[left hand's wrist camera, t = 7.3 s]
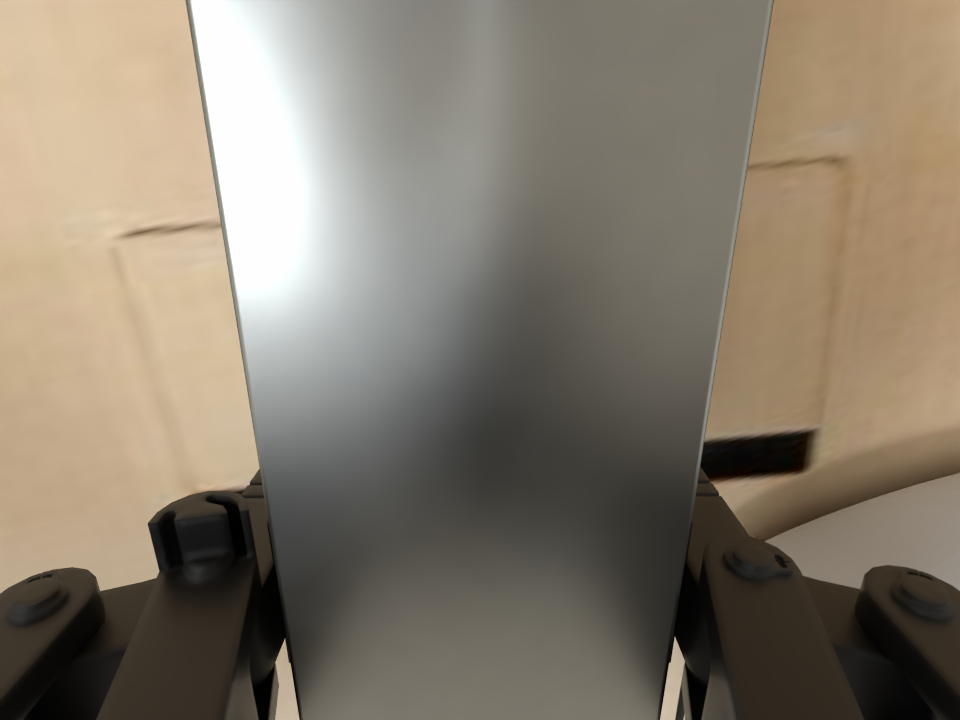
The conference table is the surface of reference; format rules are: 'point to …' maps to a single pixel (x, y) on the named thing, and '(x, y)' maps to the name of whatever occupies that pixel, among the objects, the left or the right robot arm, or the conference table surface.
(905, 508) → the projector
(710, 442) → the conference table surface
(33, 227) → the conference table surface
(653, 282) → the bar
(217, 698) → the left robot arm
